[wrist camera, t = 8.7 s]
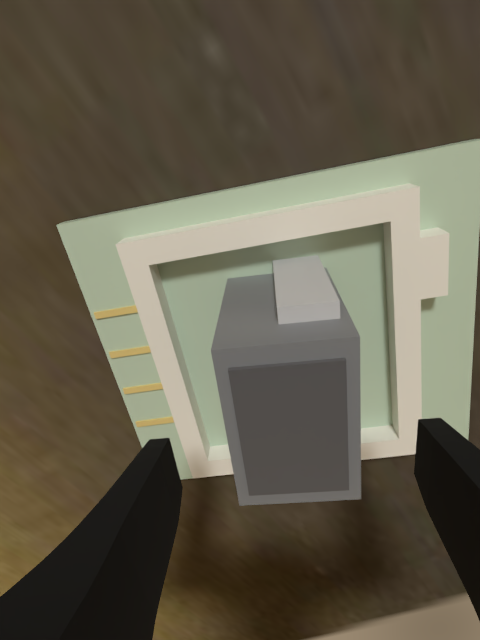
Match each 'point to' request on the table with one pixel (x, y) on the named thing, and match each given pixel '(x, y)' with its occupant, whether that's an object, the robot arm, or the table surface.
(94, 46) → the table surface
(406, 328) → the board
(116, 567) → the robot arm
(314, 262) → the plug
